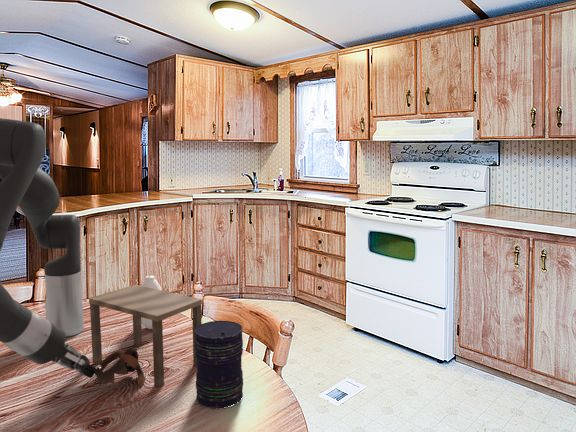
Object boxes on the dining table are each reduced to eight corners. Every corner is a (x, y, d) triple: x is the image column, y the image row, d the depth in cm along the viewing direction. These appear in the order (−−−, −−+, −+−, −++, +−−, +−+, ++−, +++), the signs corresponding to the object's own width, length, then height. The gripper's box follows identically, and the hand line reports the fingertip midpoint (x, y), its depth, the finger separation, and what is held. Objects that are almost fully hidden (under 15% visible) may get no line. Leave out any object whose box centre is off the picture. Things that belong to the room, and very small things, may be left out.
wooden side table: (92, 362, 118) (88, 298, 116) (137, 343, 130) (135, 284, 128) (159, 387, 106) (157, 316, 104) (203, 364, 118) (201, 299, 116)
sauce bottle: (171, 326, 143) (169, 266, 140) (150, 335, 136) (148, 272, 134) (152, 321, 147) (150, 262, 144) (131, 329, 140) (129, 268, 138)
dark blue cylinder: (191, 390, 105) (190, 324, 103) (235, 382, 109) (234, 318, 107) (202, 413, 96) (200, 341, 94) (249, 403, 100) (249, 333, 98)
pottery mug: (141, 396, 104) (119, 368, 101) (105, 410, 106) (82, 383, 103) (156, 358, 115) (137, 332, 112) (123, 372, 117) (103, 347, 114)
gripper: (66, 325, 91) (122, 364, 103) (26, 312, 98) (83, 350, 110) (40, 363, 88) (101, 398, 100) (1, 346, 95) (62, 381, 107)
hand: (91, 372), depth 105 cm, fingers closed
